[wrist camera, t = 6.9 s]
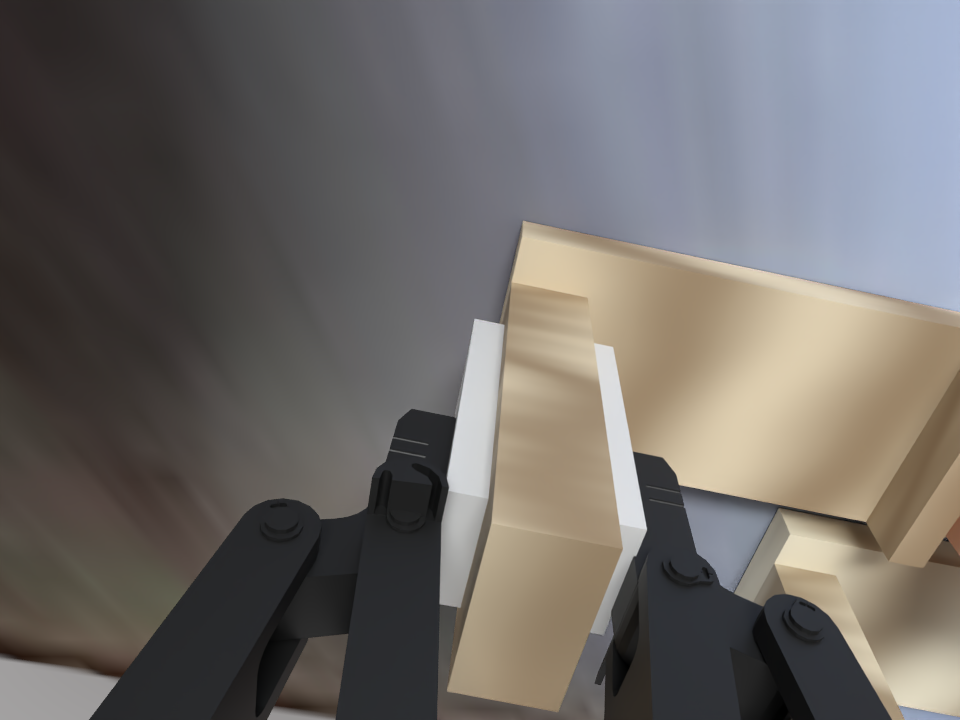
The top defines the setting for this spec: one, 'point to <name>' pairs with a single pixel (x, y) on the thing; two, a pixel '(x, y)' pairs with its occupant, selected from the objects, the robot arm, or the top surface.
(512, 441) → the strip
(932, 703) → the strip
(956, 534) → the cube
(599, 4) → the top surface
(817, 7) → the top surface
